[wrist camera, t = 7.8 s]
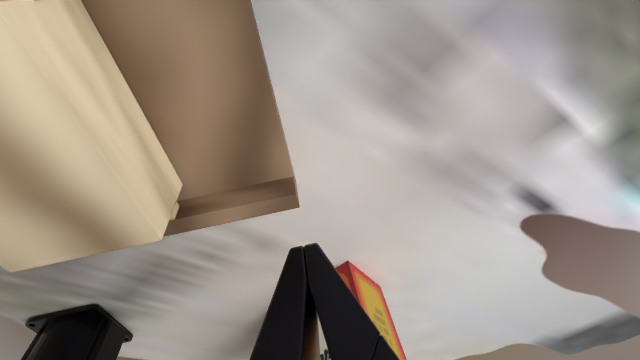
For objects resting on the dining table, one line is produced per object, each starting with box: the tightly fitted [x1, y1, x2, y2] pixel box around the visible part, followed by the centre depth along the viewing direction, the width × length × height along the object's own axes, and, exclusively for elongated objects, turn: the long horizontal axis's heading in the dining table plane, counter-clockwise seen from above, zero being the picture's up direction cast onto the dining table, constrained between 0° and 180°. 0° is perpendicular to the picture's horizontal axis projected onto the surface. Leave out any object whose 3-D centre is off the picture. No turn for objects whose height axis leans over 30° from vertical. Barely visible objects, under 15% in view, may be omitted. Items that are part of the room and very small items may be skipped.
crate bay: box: [81, 0, 299, 237], centre depth 15 cm, size 17×16×4 cm
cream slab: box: [0, 0, 183, 273], centre depth 14 cm, size 8×12×5 cm
